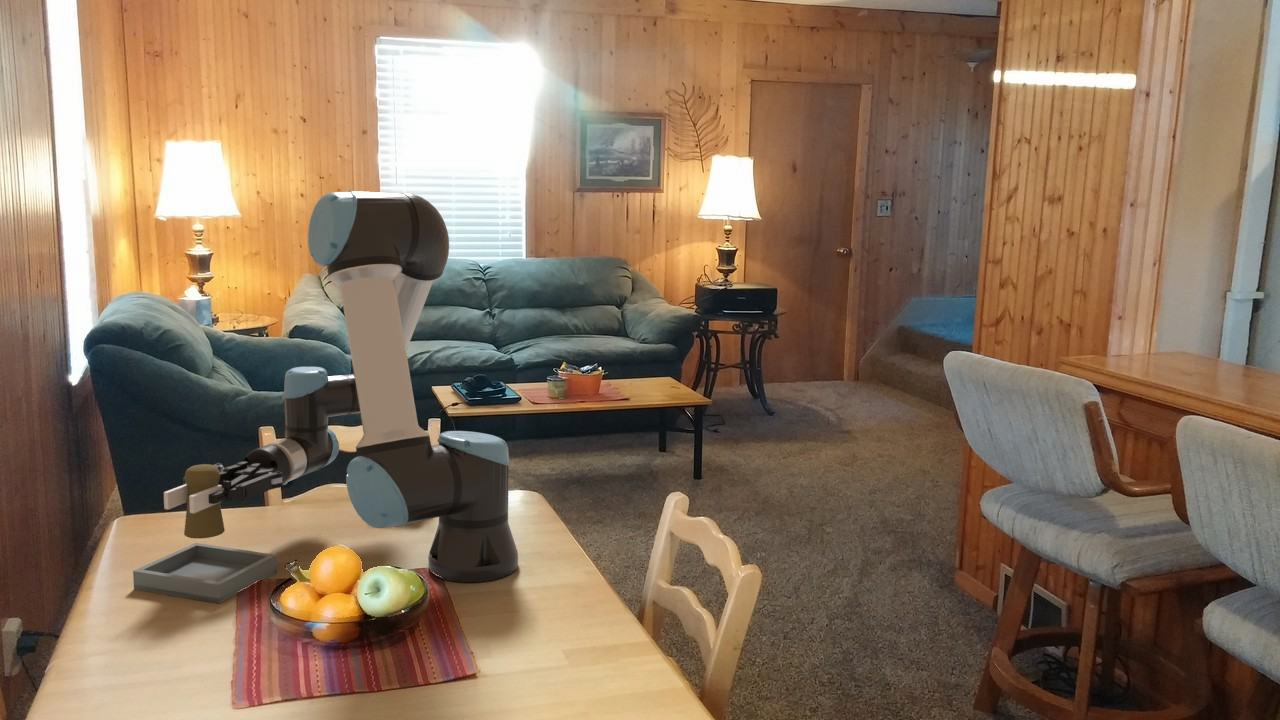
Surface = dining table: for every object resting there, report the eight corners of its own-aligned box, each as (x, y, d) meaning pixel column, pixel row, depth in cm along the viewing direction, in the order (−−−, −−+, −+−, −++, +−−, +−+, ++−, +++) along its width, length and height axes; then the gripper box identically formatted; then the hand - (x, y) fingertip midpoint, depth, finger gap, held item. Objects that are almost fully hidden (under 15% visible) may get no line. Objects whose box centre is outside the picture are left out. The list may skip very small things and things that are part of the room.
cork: (231, 527, 165) (229, 462, 163) (212, 539, 159) (210, 472, 158) (196, 524, 166) (194, 459, 164) (176, 537, 160) (173, 469, 158)
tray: (276, 572, 168) (276, 554, 168) (219, 603, 155) (218, 584, 154) (196, 559, 172) (195, 542, 172) (133, 589, 159) (133, 571, 159)
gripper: (316, 491, 177) (226, 533, 155) (233, 479, 182) (134, 518, 159) (315, 449, 176) (224, 486, 153) (232, 439, 180) (132, 472, 158)
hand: (178, 502), depth 156 cm, fingers closed on cork, 4 cm apart
